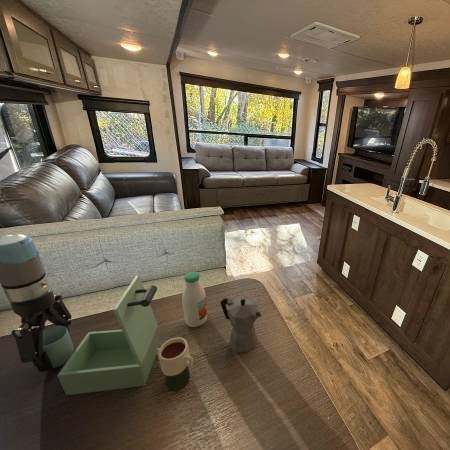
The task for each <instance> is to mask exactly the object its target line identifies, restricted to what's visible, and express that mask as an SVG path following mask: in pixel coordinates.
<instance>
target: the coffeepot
mask: <svg viewBox="0 0 450 450" xmlns="http://www.w3.org/2000/svg"><path fill="white" fill-rule="evenodd" d="M219 304H220V307H221V309H222V312H223V314H224V317H225V319H226V320H229V321H230V325H231V327H232V328H231V333H230V337H229V343H228V345H229V346H230V348H231V349H232V351H234V352H236V353H247V352H249V351H250V350H252V349H253V348H255V346H256V343H257V333H256V329H255V322H256V320H257V319H259V318H261V317H262V313H261V312H260V310H258V306H259V305H258V303H256V302H255V301H254V299H252V298H246V297H240V298H237V299H235V300H233V299H231V298H230V299H229V298H227V297H224V298H223V299H221V300H220V303H219ZM227 306H228V308H227Z"/></svg>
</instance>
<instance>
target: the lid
mask: <svg viewBox="0 0 450 450" xmlns="http://www.w3.org/2000/svg"><path fill="white" fill-rule="evenodd" d="M126 288H127V289H126V290H125V291H124V292H123V294H122V295H121V297H120V299H118V302H117V303H116V304H115V306H114V308H113V309H112V311H113V313H114V315H115V318H116V320H117V322H118V325H119V327H120V330H122V331H123V333H124V335H125V338H126V340H127V342H128V344H129V346H130V348H131V351H132V353H133V355H134V357H135V359H136V362H137V364H138V366H139V365H142V363H143V360H144V358H145V355H146V353H147V351H148V348H149V346H150V343H151V341H152V338H153V336H154V334H155V331H156V329H157V330H158V326H159V324H158V322H157V319H156V316H155V314H154V311H153V308H152V306H151V303H152V301H153V300H154V296H155V295H156V293H157V291H158V286H156V285H153V284H151V285H149V286H148V287H147V288H145V287H144V284H143V281H142V278H141V276H140V274H136V275H135V277H134V278H133V279H132V281H131V283H130V284H129V285H128V287H126Z"/></svg>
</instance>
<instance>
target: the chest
mask: <svg viewBox="0 0 450 450" xmlns="http://www.w3.org/2000/svg"><path fill="white" fill-rule="evenodd" d="M160 347H161V341H160V336H159V331H158V328H157V329H156V331H155V334H154V336H153V338H152V341H151V343H150V346H149V348H148V351H147V353H146V355H145V358H144V360H143V363H142V365H139V366H138V364H137V362H136V359H135V357H134V355H133V353H132V351H131V348H130V346H129V344H128V342H127V340H126V338H125V335H124V333H123V331H122V329H113V330H101V331H89V332H87V333H86V335H85V336H84V338H83V339H82V340H81V342H80V343H79V344H78V346H77V347H76V349H74V352H73V354H72V356H71V357H70V359H69V360H68V361H67V362H66V363H65V364H64V365H63V367H62V368H61V370H60V371H59V372H58V374H57V379H58V380H59V382H60V385H61V387H62V389H63V391H64V394H65V396H72V395H79V394H80V395H81V394H88V393H96V392H105V391H112V390H120V389H127V388H128V389H129V388H135V387H145V386H146V384H147V382H148V379H149V376H150V372H151V370H152V368H153V365H154V362H155V359H156V357H157V353H156V349H157V348H160Z"/></svg>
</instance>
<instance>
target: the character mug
mask: <svg viewBox="0 0 450 450" xmlns="http://www.w3.org/2000/svg"><path fill="white" fill-rule="evenodd" d="M156 353H157V354H156V357H157V358H158V361H159V367H160V370H161V372H162V374H163V375H165V386H166V387H167V389H168V390H171V391H176V390H180V389H181V388H182V387H184V386H185V385H186V384H188V382H189V380H190V378H191V373H190V369H189V367H191V368H192V367H193V366H194V359H193V357H192V356H191V355H190V349H189V343H188V342H187V340H186V339H185V338H183V337H173V338H170V339H168V340H166V341H165V342H164V343H162V344H160V346H159V348H157V349H156Z"/></svg>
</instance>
